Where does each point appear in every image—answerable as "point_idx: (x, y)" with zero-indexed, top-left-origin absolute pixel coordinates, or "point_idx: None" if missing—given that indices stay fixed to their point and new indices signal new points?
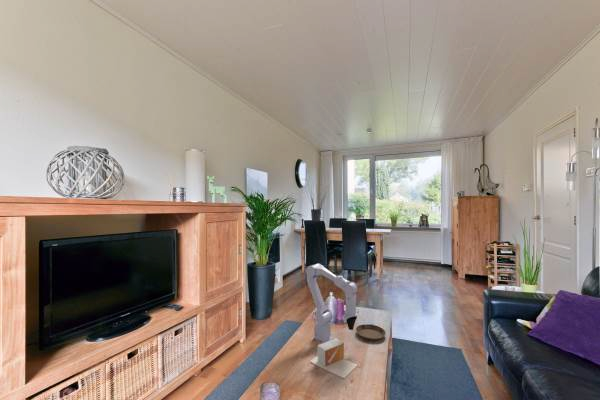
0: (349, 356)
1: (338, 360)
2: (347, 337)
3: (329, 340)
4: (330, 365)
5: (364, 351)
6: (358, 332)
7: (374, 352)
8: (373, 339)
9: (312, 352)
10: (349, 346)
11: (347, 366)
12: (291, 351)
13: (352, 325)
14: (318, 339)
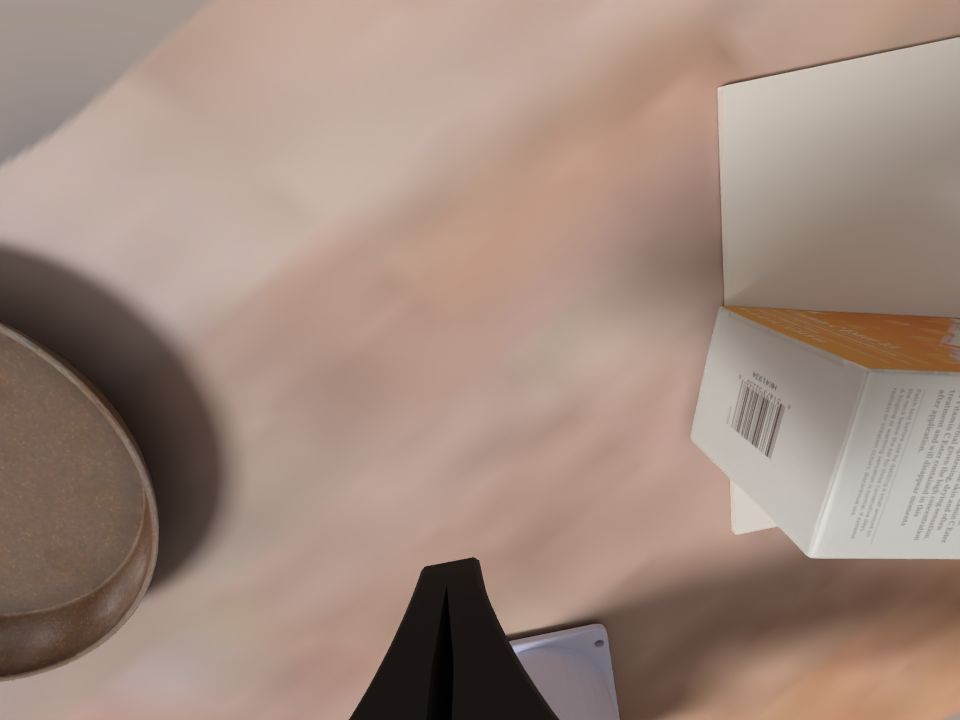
0: (616, 301)
1: (810, 310)
2: (304, 587)
3: (541, 639)
4: (940, 303)
5: (369, 256)
6: (97, 591)
7: (266, 145)
8: (39, 343)
9: (829, 578)
10: (439, 447)
11: (839, 155)
12: (934, 679)
13: (495, 642)
14: (616, 702)
